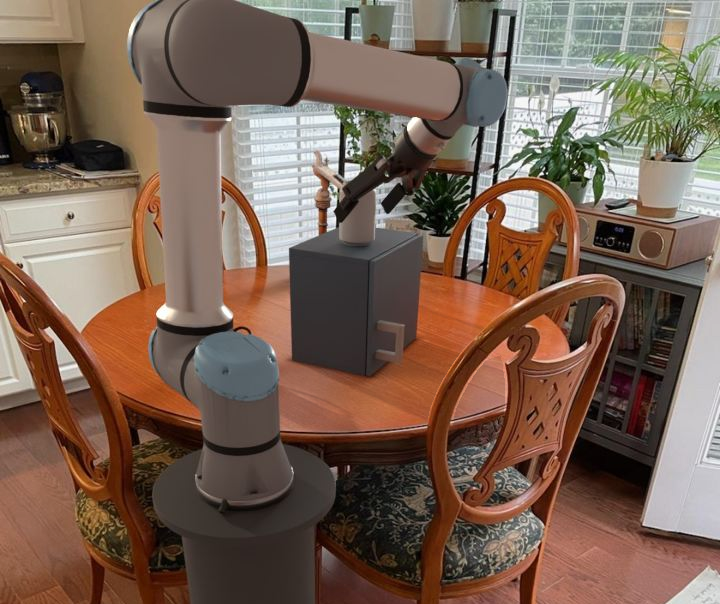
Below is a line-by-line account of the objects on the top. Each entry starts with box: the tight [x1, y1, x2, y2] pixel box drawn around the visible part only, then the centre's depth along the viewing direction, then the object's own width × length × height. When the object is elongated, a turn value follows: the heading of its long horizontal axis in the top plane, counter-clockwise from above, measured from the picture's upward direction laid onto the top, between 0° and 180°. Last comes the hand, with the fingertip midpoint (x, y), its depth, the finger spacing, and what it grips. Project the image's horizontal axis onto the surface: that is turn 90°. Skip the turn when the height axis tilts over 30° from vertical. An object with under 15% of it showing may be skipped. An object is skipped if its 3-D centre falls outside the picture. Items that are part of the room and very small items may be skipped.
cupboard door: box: [365, 233, 424, 377], centre depth 154 cm, size 7×26×24 cm, turn 154°
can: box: [338, 180, 377, 246], centre depth 147 cm, size 8×8×12 cm
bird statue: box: [311, 149, 348, 236], centre depth 206 cm, size 17×13×35 cm
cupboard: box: [288, 226, 419, 377], centre depth 158 cm, size 18×26×24 cm
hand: (361, 212), depth 146 cm, fingers open, 13 cm apart
